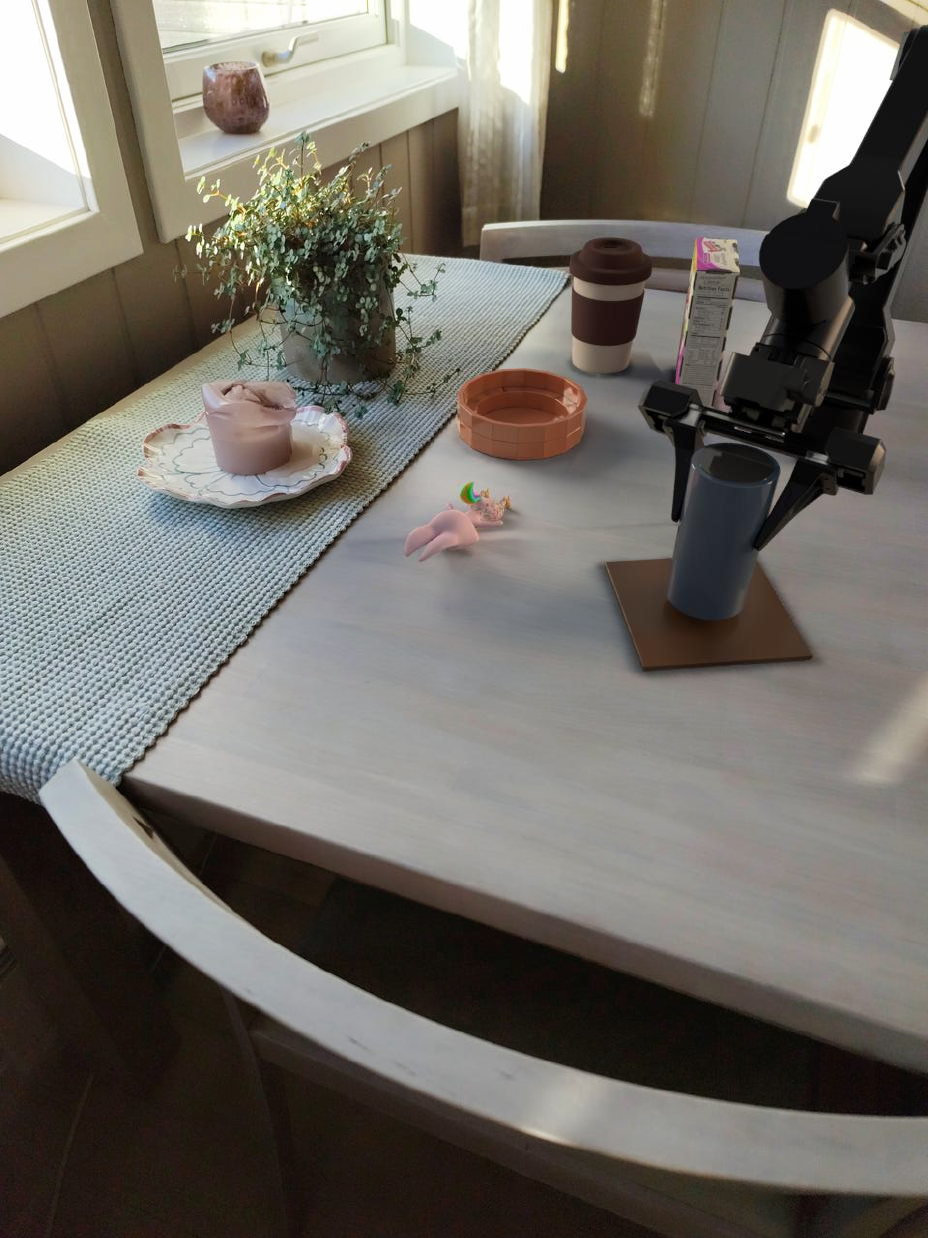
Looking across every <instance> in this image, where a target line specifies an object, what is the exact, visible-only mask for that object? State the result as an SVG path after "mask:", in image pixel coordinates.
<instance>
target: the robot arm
mask: <svg viewBox="0 0 928 1238" xmlns="http://www.w3.org/2000/svg"><path fill="white" fill-rule="evenodd" d="M888 80H889V81H891V83H890V85H889V87H888V89H887V91H886V93H885V95H884V96H883V98H882V100H881V103H880V104H879V106H878V108H877V111H876V113H875V114H874V117H873V118H872V120H871V122H870V124H869V126H868V128H867V130H866V132H865V134H864V136H863V138H862V140H861V142H860V143H859V146H858V148H857V150H856V152H855V153H854V156H852V159H851V161H850V162H849V164H848V165H846V166H844V167H843V168H841V169H839V170H838V171H836V172H835V173H833V174H831V175H829V176H827V177H826V178H825V179H824V180H822V182H821V184H820V186H819V187H818V189H817V190H816V192H815V194H814V195H813V197H812V198H811V199H810V200H809V201H810V202H809V204H808V206H807V207H803V208H801V210H800V211H799V212H798V213H797V214H794V215H791V216H789V217H787V218H785V219H783V220H782V221H780V222H779V223H778V224H777V225H775V226H774V227H772V229H770V231H769V232H768V233H766V235H765V236H764V237H763V239H762V241H761V244H760V247H759V250H758V264H759V269H760V275H761V280H762V286H763V292H764V296H765V301H766V307H767V309H768V310H769V312H770V313H771V315H770V317H769V319H768V321H767V324H766V326H765V329H764V330H763V333H762V335H761V338H760V340H759V341H756V342H755V343H754V346H753V347H752V348H751V350H750V353H749V354H744V353H740V352H736V351H731V354H730V356H729V360H728V363H727V365H726V368H725V372H724V376H723V378H722V381H721V384H720V386H719V390H718V392H717V395H718V396H720V397H723V398H722V402H723V403H724V406H726V407H729V410H728V412H727V411H724V410H721V409H716V408H709V407H706V406H703V404H702V401H701V399H700V396H699V394H698V391H697V389H694V388H690V387H686V386H682V385H679V384H675V382H672V381H667V380H664V379H660V378H657V379H656V380H655V381H653V382H652V383H650V384H649V385H647V386H646V387H645V388H644V391H643V393H642V395H641V398H640V400H639V402H638V403H637V409H638V411H639V412H640V414H641V416H642V417H643V419H644V421H645V422H646V424H647V425H648V427H649V429H650V430H652V431H654V432H656V433H657V434H660V435H661V434H662V435H664V436H667V438H668V440H669V441H670V443H671V446H672V447H673V448H674V457H675V458H674V462H675V464H674V465H675V467H674V480H673V490H672V491H673V492H672V502H671V503H672V504H671V514H670V520H671V521H672V522H673V523H675V524H677V523H679V520H680V515H681V509H682V504H683V499H684V494H685V489H686V483H687V478H688V473H689V468H690V462H691V458H692V455H693V454H694V453H695V451H696V450H698V449H699V448H701V447H703V446H706V444H705V443H704V439H705V438H707V437H708V434H711V435H715V436H718V437H721V438H726V439H728V440H732V441H735V442H738V443H741V444H744V445H749V446H752V447H755V448H758V449H763V450H766V451H770V452H774V453H776V454H780V455H783V456H787V457H791V458H794V459H796V461H795V463H794V466H793V469H792V471H791V473H790V476H789V478H788V481H787V483H786V485H785V486H784V489H783V490H782V491H781V494H780V495H779V497H778V499H777V500H776V502H775V504H774V505H773V507H772V508H771V510H770V513H769V516H768V518H767V520H766V522H765V523H764V525H763V527H762V529H761V531H760V534H759V536H758V539H757V541H756V544H755V546H754V548H755V550H757V551H759V552H761V551H762V550H763V549H764V548H765V547H767V546H768V544H769V543H770V542H771V541H772V540H773V539H774V538H775V537H776V536H778V534H779V533H780V532H781V531H782V530H783V529H784V528H785V527H786V526H787V525H788V524H790V522H791V521H792V520H793V519H794V518H795V517H796V516H797V515H799V514H800V513H801V512H802V511H804V509H806V508H808V507H809V506H810V505H811V504H812V503H813V502H815V501H816V500H817V499H818V498H820V497H821V496H822V495H828V496H833V497H834V496H835V497H836V496H837V494H838V493H839V491H840V489H844V490H848V491H851V492H854V493H858V494H861V495H865V496H873V495H874V492H875V490H876V488H877V486H878V484H879V482H880V479H881V476H882V474H883V471H884V468H885V464H886V456H887V455H886V454H887V448H886V446H885V444H884V442H883V439H882V438H879V437H875V436H871V435H867V434H864V432H865V429H866V425H867V423H868V420H869V417H870V416H874V415H875V414H876V412H880V411H886V410H887V408H888V406H889V402H890V400H891V396H892V394H893V390H894V386H895V385H894V383H895V380H896V372H895V370H894V366H895V357H894V356H891V353H892V351H893V348H894V345H895V342H896V334H895V333H896V332H895V328H894V324H893V320H892V314H891V306H892V303H893V300H894V297H895V294H896V292H897V289H898V287H899V284H900V281H901V279H902V275H903V273H904V270H905V268H906V265H907V262H908V259H909V256H910V254H911V252H912V249H913V246H914V243H915V240H916V238H917V235H918V233H919V230H920V227H921V225H922V222H923V219H924V216H925V214H926V210H927V209H928V23H927V24H922V26H920V27H913V28H911V29H910V30H909V31H904V32H903V34H902V38H901V41H900V45H899V46H898V51H897V53H896V57H895V60H894V63H893V67H892V70H891V72H890V76H889V79H888ZM839 488H840V489H839Z"/></svg>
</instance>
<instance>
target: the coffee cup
mask: <svg viewBox="0 0 928 1238" xmlns="http://www.w3.org/2000/svg"><path fill="white" fill-rule="evenodd" d="M653 265H654V261H653V258H652V257H650V256H649V255H648V254H646V253H644V252H643V247H642V246H641V245H640V244H639V243H638V242H636V241H634V240H632V239H628V238H622V237H615V236H614V237H613V236H606V237H605V236H604V237H597V238H592V239H589V240H587V241H586V242H585V243H584V245H583V247H582V248H581V249H579V250H577V251H575V252H573V254H572V255H571V256H570V258H569V267H568V268H569V273H570V274H571V275H572V277H573V285H572V287H571V316H570V317H571V320H570V321H571V322H570V323H571V325H570V332H571V335H572V354H571V355H572V357H571V358H572V359H571V360H572V363H573V366H575V367H576V368H578V369H580V370H582V371H585V372H588V373H593V374H600V375H603V374H605V375H606V374H616V373H619V372H621V371H624V370H625V369H627V368H628V366H629V364H630V358H631V353H632V348H633V344H634V340H635V338H636V336H637V332H638V327H639V322H640V317H641V314H642V313H641V312H642V306H643V303H644V298H645V291H646V290H645V284H646V281H647V280H648V279H650V278H651V276H652V273H653Z"/></svg>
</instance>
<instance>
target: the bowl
mask: <svg viewBox="0 0 928 1238" xmlns="http://www.w3.org/2000/svg"><path fill="white" fill-rule="evenodd" d="M456 396H457V397H456V398H457V401H456V402H457V403H456V404H457V405H456V406H457V407H456V408H457V411H456V412H457V417H456V418H457V419H456V420H457V430H458V434H459V435H458V436H459V438H460V439H461V440H462V441H464V442H465V443H466V445H467V446H469V447H470V448H471V449H473V450H476V451H478V452H480V453H483V454H485V455H488V456H491V457H494V458H500V459H506V460H507V459H508V460H513V461H527V460H529V461H530V460H545V459H547V458H551V457H555V456H558V455H559V456H560V455H562V454H565V453H567V452H568V451H570V450H571V449H572V448H574V447H575V446H577V445H579V444H580V442H581V440H582V438H583V435H584V433H585V427H586V416H587V408H588V398H587V395H586V393H585V391H584V389H583V387H582V386H580V385H579V384H578V383H577V382H575V381H573V379H571V378H569V377H566V376H563V375H560V374H557V373H555V372H551V371H548V370H542V369H541V370H540V369H535V368H534V369H533V368H525V367H523V368H502V369H501V368H500V369H497V370H491V371H488V372H483V373H480V374H478V375H476V376H474V377H472V378H470V379H468V380H466V381H465V382H464V383H463V384H462V386H461V387H460V388H459V390H458V392H457V395H456Z"/></svg>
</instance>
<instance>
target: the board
mask: <svg viewBox="0 0 928 1238" xmlns="http://www.w3.org/2000/svg"><path fill="white" fill-rule="evenodd" d="M671 561H672V557H670V558H669V557H668V558H653V559H651V558H650V559H637V560H636V559H635V560H618V561H605V562H604V568H605V571H606V574H607V577H608V580H609V582H610V585H611V587H612V588H611V589H612V590H613V594H614V596H615V599H616V601H617V604H618V607H619V610H620V612H621V615H622V617H623V621H624V624H625V626H626V628H627V631H628V634H629V637H630V640H631V643H632V645H633V648H634V651H635V653H636V656H637V658H638V661H639V664H640V667H641V670H642V671H643V672H645V671H646V672H647V671H663V670H676V669H678V670H679V669H689V668H691V669H692V668H707V667H721V666H722V667H723V666H735V665H738V666H739V665H752V664H764V663H765V664H766V663H781V662H795V661H810V660H813V657H814V654H813V653H812V651H811V649H810V647H809V646H808V644H807V642H806V641H805V639H804V637H803V635H802V634H801V632H800V630H799V629H798V627H797V626H796V623H795V622H794V620H793V619H792V616H790V614H789V612H788V610H787V609H786V607H785V605H784V604H783V602H782V600H781V598H780V597H779V595H778V594H777V592H776V590H775V589H774V587H773V584H772V583H771V582H770V580H769V578H768V576H767V574H766V573H765V571H764V569H763V568H762V567H761V565H760V563H759V561H758V560H757V561H756V565H755V568H754V572H753V576H752V579H751V583H750V587H749V590H748V594H747V598H746V601H745V605H744V607H743V609H742V610H741V611H740V612H739V613H738V614H737V615H735V616H733V617H731V618H728V619H724V620H714V621H713V620H702V619H697V618H694V617H691V616H688V615H686V614H684V613H682V612H681V611H679V610H678V609H676V608H675V607H674V606H673V605H672V604H671V602H670V601H669V599H668V597H667V594H666V588H667V582H668V577H669V572H670V567H671Z"/></svg>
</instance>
